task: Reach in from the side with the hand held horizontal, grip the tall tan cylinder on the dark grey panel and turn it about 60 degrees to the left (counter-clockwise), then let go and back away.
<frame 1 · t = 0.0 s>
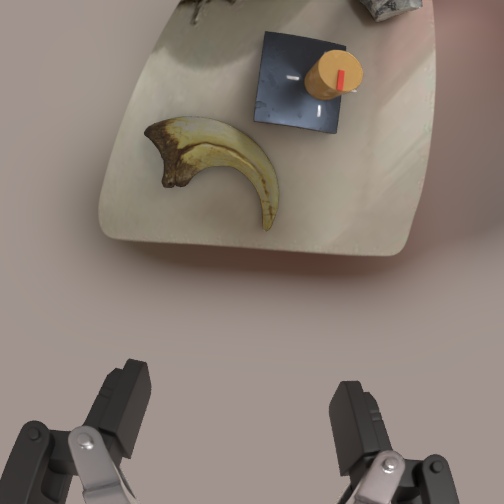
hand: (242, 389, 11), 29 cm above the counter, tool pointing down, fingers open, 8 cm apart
panel: (298, 83, 31), on the counter
stone: (377, 6, 25), on the counter
tan cylinder: (331, 77, 25), point 7 cm above the counter, hinge at 0.0°
claw: (217, 167, 36), on the counter
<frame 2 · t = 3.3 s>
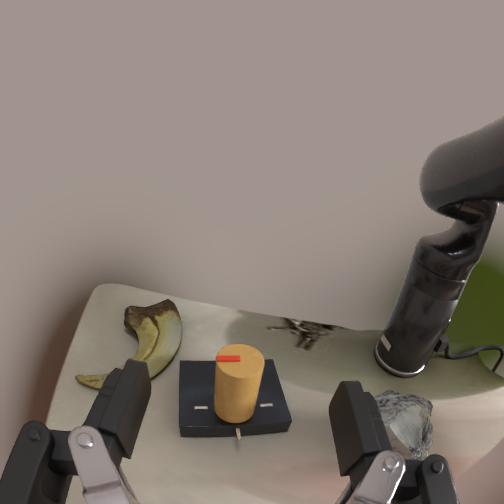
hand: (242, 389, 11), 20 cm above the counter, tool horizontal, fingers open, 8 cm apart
panel: (230, 402, 31), on the counter
stone: (375, 447, 25), on the counter
tan cylinder: (237, 385, 26), point 7 cm above the counter, hinge at 0.0°
claw: (137, 350, 37), on the counter
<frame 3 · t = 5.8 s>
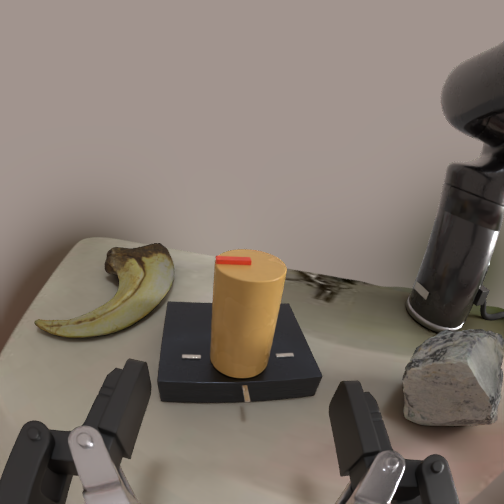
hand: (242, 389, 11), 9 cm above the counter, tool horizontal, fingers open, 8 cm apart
panel: (233, 357, 24), on the counter
stone: (430, 414, 18), on the counter
tan cylinder: (244, 314, 19), point 7 cm above the counter, hinge at 0.0°
claw: (117, 298, 30), on the counter
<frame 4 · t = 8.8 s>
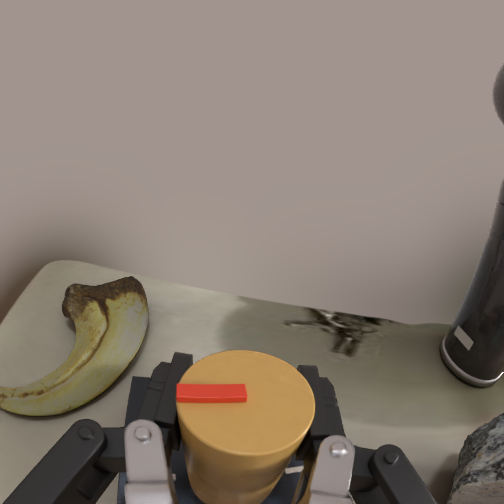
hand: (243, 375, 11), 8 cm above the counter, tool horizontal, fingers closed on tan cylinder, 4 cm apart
panel: (224, 457, 14), on the counter
stone: (467, 502, 9), on the counter
tan cylinder: (237, 447, 10), point 7 cm above the counter, hinge at -0.1°, touching gripper
claw: (76, 354, 20), on the counter
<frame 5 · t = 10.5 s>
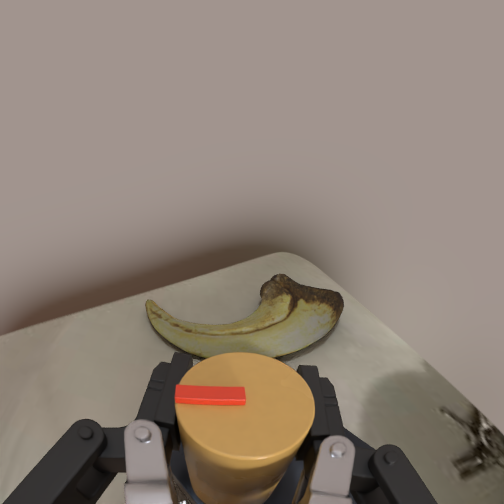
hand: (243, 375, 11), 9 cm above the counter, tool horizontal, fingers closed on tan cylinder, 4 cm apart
panel: (262, 470, 14), on the counter
tan cylinder: (237, 448, 10), point 7 cm above the counter, hinge at 56.0°, touching gripper
claw: (246, 326, 28), on the counter
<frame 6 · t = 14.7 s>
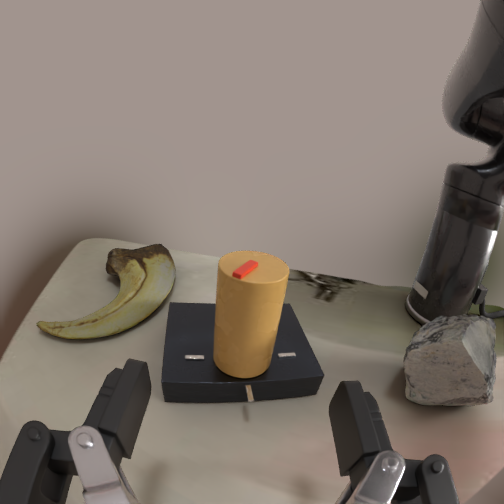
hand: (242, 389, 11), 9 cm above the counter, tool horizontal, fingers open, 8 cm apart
panel: (235, 357, 24), on the counter
stone: (429, 395, 20), on the counter
tan cylinder: (247, 315, 19), point 7 cm above the counter, hinge at 52.4°
claw: (118, 299, 30), on the counter
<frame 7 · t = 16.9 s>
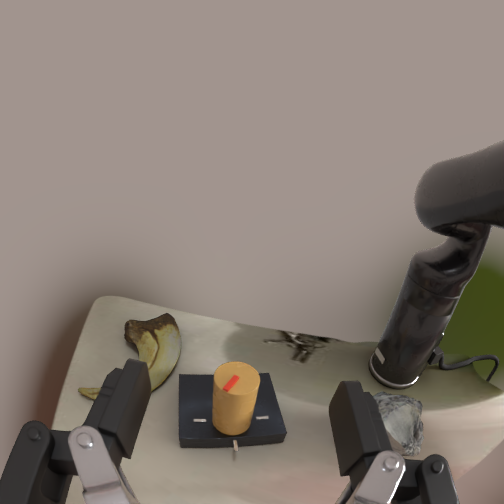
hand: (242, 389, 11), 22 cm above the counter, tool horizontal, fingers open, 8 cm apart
panel: (227, 414, 32), on the counter
stone: (370, 444, 28), on the counter
tan cylinder: (234, 400, 27), point 7 cm above the counter, hinge at 52.4°
claw: (137, 363, 37), on the counter
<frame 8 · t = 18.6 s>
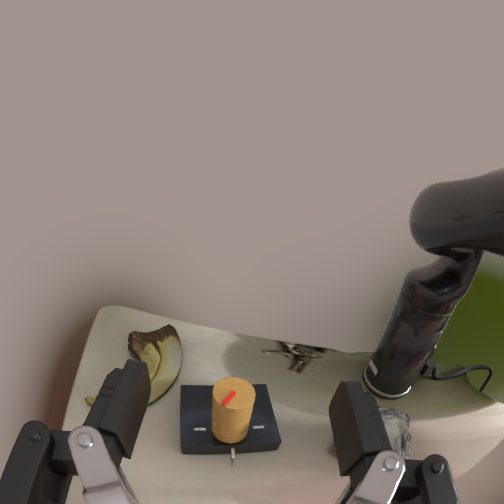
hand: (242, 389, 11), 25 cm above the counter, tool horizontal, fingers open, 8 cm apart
panel: (226, 423, 33), on the counter
stone: (361, 452, 29), on the counter
tan cylinder: (231, 411, 28), point 7 cm above the counter, hinge at 52.4°
claw: (141, 373, 39), on the counter
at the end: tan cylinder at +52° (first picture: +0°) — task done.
